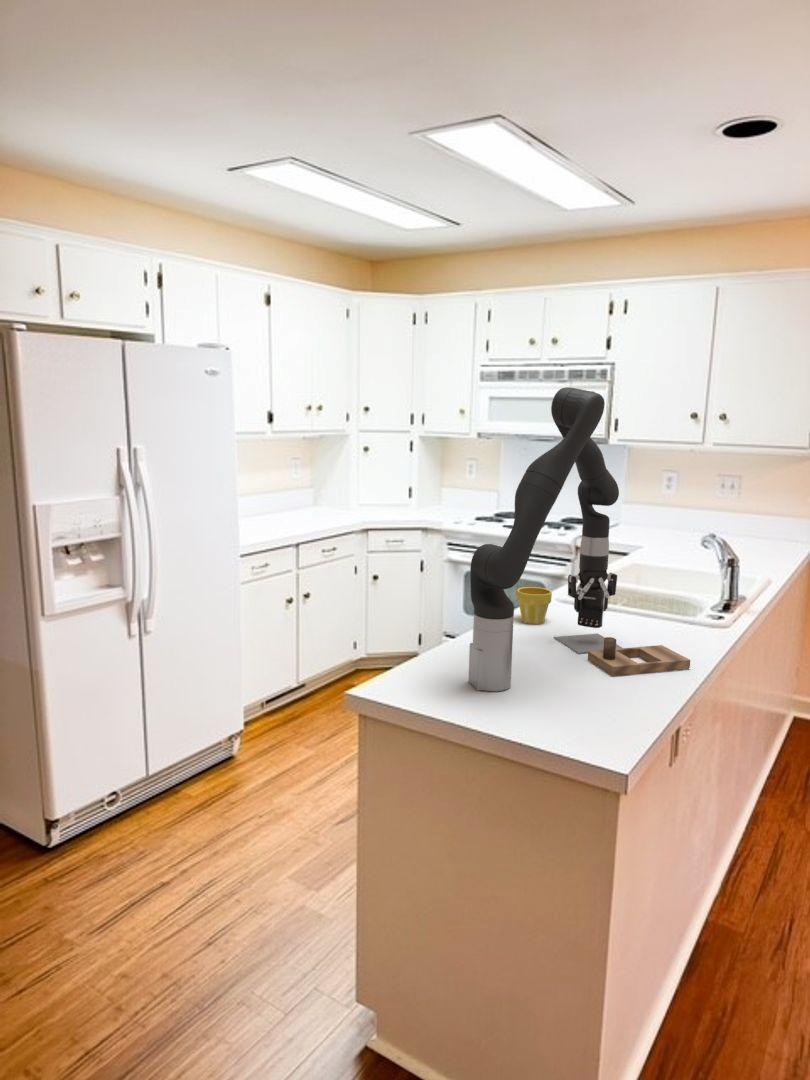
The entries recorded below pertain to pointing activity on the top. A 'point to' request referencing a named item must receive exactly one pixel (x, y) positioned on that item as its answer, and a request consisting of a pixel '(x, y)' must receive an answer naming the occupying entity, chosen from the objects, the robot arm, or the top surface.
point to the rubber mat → (583, 642)
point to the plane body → (621, 664)
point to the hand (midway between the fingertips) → (590, 611)
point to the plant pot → (533, 604)
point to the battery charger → (592, 608)
